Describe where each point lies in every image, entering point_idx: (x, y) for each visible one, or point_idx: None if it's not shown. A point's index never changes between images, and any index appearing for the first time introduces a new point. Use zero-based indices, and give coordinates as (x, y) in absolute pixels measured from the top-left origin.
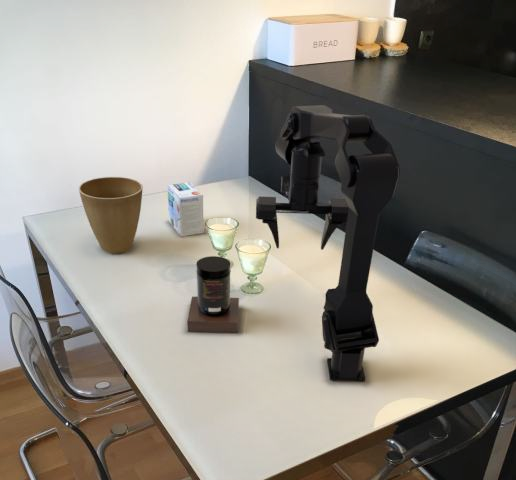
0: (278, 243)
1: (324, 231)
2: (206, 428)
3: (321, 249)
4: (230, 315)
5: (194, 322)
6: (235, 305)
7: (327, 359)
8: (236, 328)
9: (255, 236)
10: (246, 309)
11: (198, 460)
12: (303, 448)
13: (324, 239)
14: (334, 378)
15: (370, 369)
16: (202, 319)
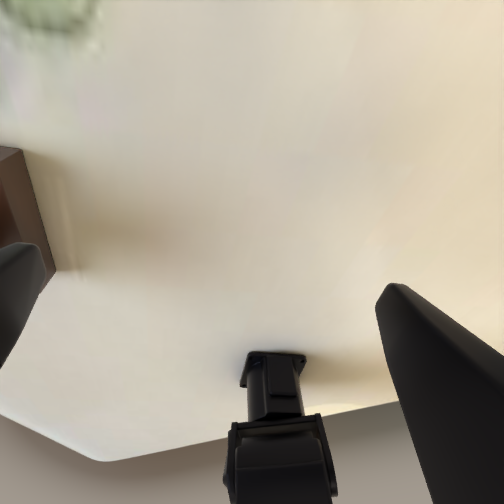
0: (16, 331)
1: (474, 465)
2: (68, 425)
3: (375, 310)
4: None
5: None
6: (2, 215)
7: (248, 357)
8: (47, 281)
9: None
10: (53, 161)
11: (72, 446)
12: (183, 440)
13: (411, 423)
14: (246, 386)
15: (313, 367)
16: None
